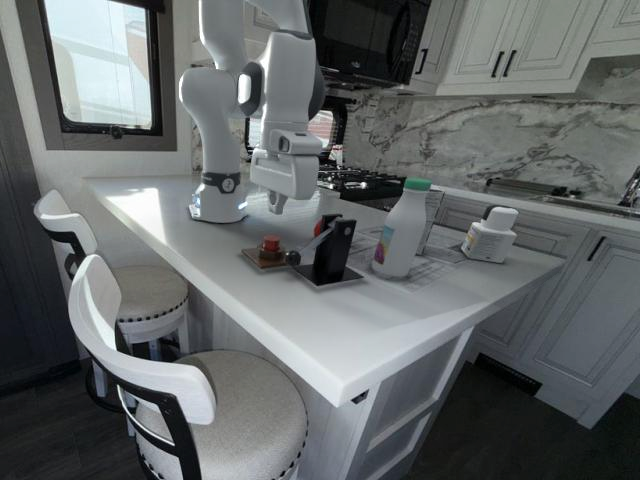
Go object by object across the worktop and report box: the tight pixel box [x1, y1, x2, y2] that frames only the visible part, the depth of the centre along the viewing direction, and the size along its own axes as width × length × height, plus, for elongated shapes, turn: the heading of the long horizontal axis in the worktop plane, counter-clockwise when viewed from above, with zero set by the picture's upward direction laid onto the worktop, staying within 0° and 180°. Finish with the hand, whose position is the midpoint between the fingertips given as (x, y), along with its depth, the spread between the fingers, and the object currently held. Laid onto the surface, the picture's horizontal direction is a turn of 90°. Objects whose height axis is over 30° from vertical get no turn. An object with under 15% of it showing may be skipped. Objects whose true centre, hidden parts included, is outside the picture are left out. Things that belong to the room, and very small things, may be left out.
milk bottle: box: [370, 177, 433, 278], centre depth 64 cm, size 8×8×20 cm
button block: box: [241, 242, 288, 270], centre depth 70 cm, size 10×10×4 cm
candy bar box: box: [415, 183, 446, 256], centre depth 80 cm, size 11×5×16 cm, turn 168°
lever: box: [285, 216, 346, 268], centre depth 60 cm, size 14×3×3 cm
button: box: [262, 234, 281, 251], centre depth 69 cm, size 4×4×2 cm
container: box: [460, 204, 520, 264], centre depth 78 cm, size 8×8×13 cm
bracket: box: [291, 213, 365, 287], centre depth 62 cm, size 12×9×13 cm
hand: (275, 213), depth 65 cm, fingers closed
